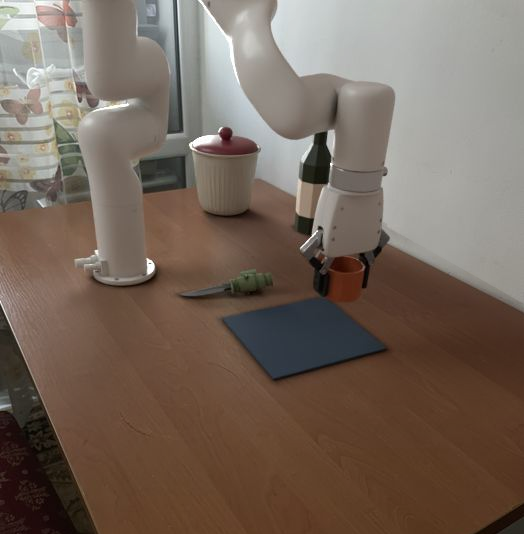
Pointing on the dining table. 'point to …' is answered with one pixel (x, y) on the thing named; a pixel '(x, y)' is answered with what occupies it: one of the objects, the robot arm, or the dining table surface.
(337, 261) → the ramekin
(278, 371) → the mat
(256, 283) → the knife
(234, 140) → the canister
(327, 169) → the wine bottle
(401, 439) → the dining table surface
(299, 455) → the dining table surface
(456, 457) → the dining table surface
